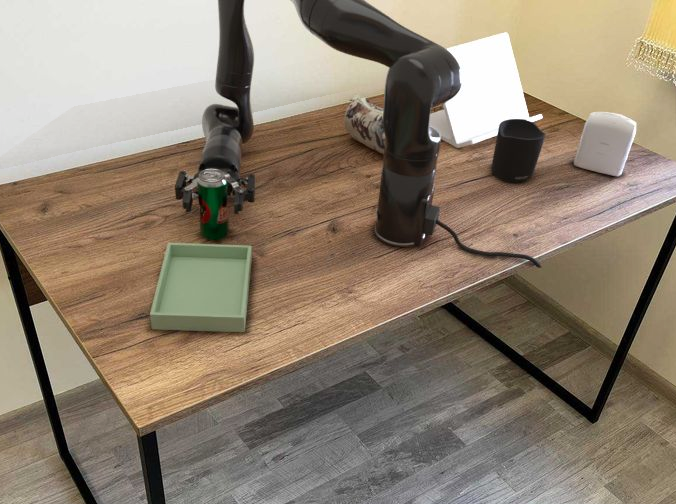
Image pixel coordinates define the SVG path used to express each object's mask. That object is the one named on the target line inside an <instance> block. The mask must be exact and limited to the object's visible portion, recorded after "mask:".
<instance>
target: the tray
mask: <svg viewBox="0 0 676 504" xmlns="http://www.w3.org/2000/svg"><path fill="white" fill-rule="evenodd" d="M252 249H253V245H245V244H244V245H241V244H216V243H212V244H211V243H189V242H188V243H187V242H167V245H166V249H165V253H164V257H163V261H162V264H161V268H160V272H159V275H158V280H157V283H156V288H155V292H154V296H153V300H152V304H151V307H150V308H151V309H150V312H149V318H150V326H151V330H157V331H158V330H160V331H161V330H162V331H163V330H164V331H187V332H189V331H191V332H218V333H219V332H221V333H222V332H223V333H225V332H226V333H245V331H246V321H247V314H248V313H247V312H248V303H249V293H250V292H249V291H250V283H251V282H250V281H251V273H252V264H253V263H252V262H253V251H252Z"/></svg>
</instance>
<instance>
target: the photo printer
mask: <svg viewBox="0 0 676 504" xmlns="http://www.w3.org/2000/svg"><path fill="white" fill-rule="evenodd" d="M636 132H637V122H636V121H635V120H633V119H631V118H629V117H627V116H625V115H623V114H619V113H616V112H611V111H593V112H590V114H589V116H588V117H587V119H586V121H585V123H584V126H583V129H582V133H581V136H580V140H579V142H578V147H577V151H576V153H575V157H574V160H573V165H574V166H575V167H576V168H581V169H584V170H588V171H592V172H596V173H600V174H604V175H608V176H613V177H620V176H621V175H622V173H623V171H624V168H625V165H626V163H627V160H628V156H629V154H630V150H631V148H632V145H633V142H634V139H635V136H636Z"/></svg>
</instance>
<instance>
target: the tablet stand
mask: <svg viewBox="0 0 676 504" xmlns="http://www.w3.org/2000/svg"><path fill="white" fill-rule="evenodd" d="M446 49H447V50H448V51H449V52H450V53H451V54H452V55H453V56H454V57H455V59H456V60H457V62H458V64H459V66H460V68H461V71H462V86H461V89H460V91H459V92H458V93H457V95H456V96H455V97H453V98H452V99H451V100H449V101H448V102H446V103H444V104H442V106H443V107H442V108H443V109H441V110H438V111H435V112H432V113H431V112H430V120H429V125H430V126H432V127H434V128H435V129H437V130H438V132H439V133H440V136H441V140H442V141H444V142H446V143H448V144H449V145H450V146H453V147H454V148H457V149H460V148H464V147H468V146H471V145H475V144H477V143H480V142H482V141H485V140H488V139H491V138H493V137H497V134H498V129H499V125H500V123H501V122H502V121H504V120H508V119H524V120H529V121H531V122H533V123H534V122H536V121H538V120H541V119H543V114H542V113H540V114H539V113H538V114H537V115H533V116H529V115H530V114H529V112H528V111H529V110H528V108H527V103H526V99H525V95H524V92H523V87H522V84H521V80H520V76H519V71H518V67H517V64H516V59H515V56H514V52H513V47H512V44H511V40H510V35H509V33H507V32H503V33H499V34H495V35H491V36H487V37H484V38H480V39H477V40H473V41H469V42H466V43H462V44H459V45H454V46H451V47H447V48H446Z"/></svg>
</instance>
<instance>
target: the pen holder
mask: <svg viewBox="0 0 676 504" xmlns="http://www.w3.org/2000/svg"><path fill="white" fill-rule="evenodd" d="M546 134H547V133H546V132H545V131H542V130H541V129H540V128H539V126H538V125H536V124H535V122H534V121H533V122H531V121H529V120H524V119H508V120H504V121H502V122H501V123H500V125H499V129H498V134H497V135H496V140H495V145H494V150H493V157H492V163H491V172H492V174H493V175H494V176H495V177H496V178H497V179H499V180H501V181H503V182H507V183H512V184H523V183H526V182H528V181H529V180H531V179H532V178H533V175H534V172H535V170H536V166H537V165H538V161H539V158H540V155H541V150H542V147H543V145H544V142H545V138H546V136H547V135H546Z"/></svg>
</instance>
